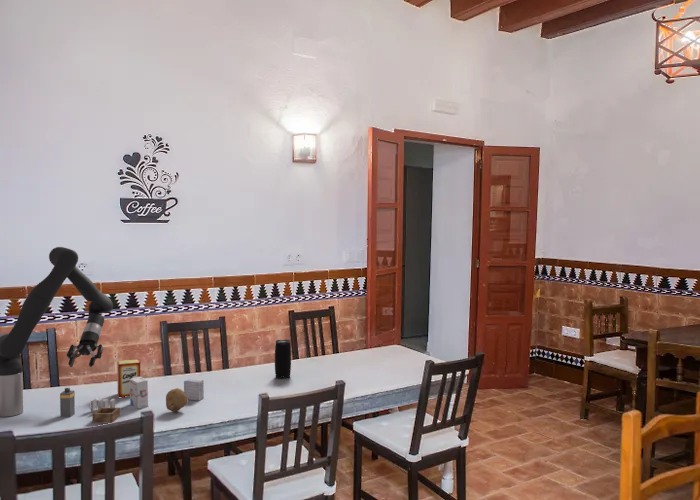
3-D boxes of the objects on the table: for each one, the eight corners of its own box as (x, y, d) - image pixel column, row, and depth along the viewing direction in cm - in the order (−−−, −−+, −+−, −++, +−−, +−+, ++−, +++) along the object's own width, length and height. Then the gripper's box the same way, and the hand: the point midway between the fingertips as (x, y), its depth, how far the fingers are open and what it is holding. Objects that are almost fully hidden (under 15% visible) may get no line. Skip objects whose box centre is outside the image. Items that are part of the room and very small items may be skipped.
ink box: (129, 404, 245) (129, 378, 244) (140, 402, 248) (140, 376, 248) (137, 408, 239) (137, 382, 238) (148, 406, 242) (148, 379, 242)
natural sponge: (190, 408, 240) (190, 385, 240) (184, 415, 231) (184, 391, 231) (169, 408, 240) (169, 385, 239) (162, 415, 231) (162, 391, 230)
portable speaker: (290, 374, 297) (290, 338, 297) (291, 379, 288) (291, 342, 287) (274, 375, 296) (274, 339, 295) (275, 379, 287) (275, 342, 286)
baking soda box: (138, 391, 264) (138, 358, 264) (140, 395, 258) (140, 361, 258) (117, 394, 260) (117, 360, 259) (118, 397, 254) (118, 363, 253)
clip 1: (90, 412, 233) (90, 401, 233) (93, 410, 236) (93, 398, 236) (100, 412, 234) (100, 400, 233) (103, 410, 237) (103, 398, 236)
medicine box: (204, 398, 255) (204, 379, 254) (198, 401, 250) (198, 382, 250) (189, 396, 257) (188, 378, 256) (183, 399, 252) (183, 380, 252)
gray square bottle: (60, 417, 227) (59, 389, 227) (64, 413, 232) (64, 386, 231) (70, 417, 228) (70, 389, 227) (75, 413, 232) (74, 386, 231)
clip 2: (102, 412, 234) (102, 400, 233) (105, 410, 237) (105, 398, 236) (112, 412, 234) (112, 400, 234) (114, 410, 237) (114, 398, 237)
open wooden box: (92, 422, 221) (92, 414, 221) (100, 416, 229) (100, 407, 229) (112, 422, 221) (112, 413, 221) (120, 416, 229) (120, 407, 229)
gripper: (72, 330, 249) (60, 361, 238) (104, 330, 249) (94, 361, 239) (78, 339, 254) (66, 370, 243) (109, 339, 255) (99, 370, 244)
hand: (80, 366), depth 241 cm, fingers open, 8 cm apart
